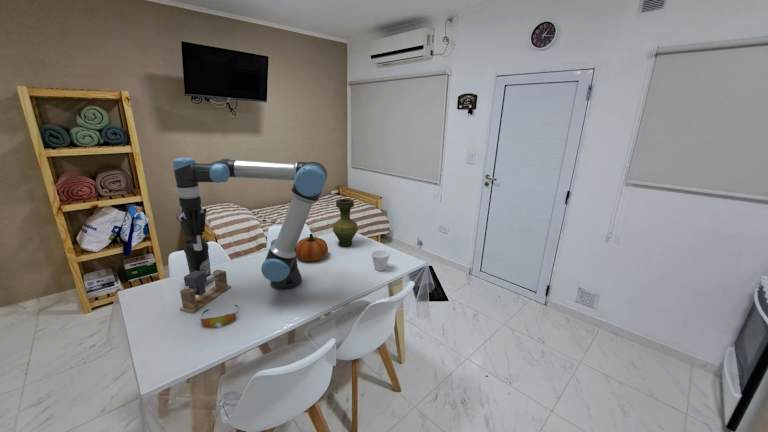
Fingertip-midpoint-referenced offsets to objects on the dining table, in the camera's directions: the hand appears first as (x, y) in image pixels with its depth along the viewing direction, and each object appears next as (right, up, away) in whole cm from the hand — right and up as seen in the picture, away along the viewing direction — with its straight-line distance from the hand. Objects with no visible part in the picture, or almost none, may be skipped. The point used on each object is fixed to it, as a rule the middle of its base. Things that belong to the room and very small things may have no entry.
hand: (198, 249), depth 133 cm
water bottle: (-10, -19, +21) cm, 30 cm away
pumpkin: (+37, -10, +52) cm, 65 cm away
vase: (+54, -5, +72) cm, 90 cm away
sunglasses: (+12, -28, -4) cm, 31 cm away
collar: (-2, -19, +2) cm, 19 cm away
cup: (+78, -15, +40) cm, 89 cm away
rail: (-1, -23, +8) cm, 24 cm away
